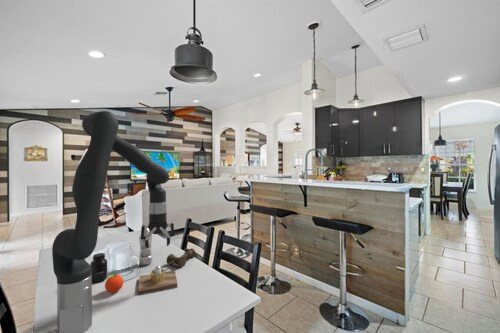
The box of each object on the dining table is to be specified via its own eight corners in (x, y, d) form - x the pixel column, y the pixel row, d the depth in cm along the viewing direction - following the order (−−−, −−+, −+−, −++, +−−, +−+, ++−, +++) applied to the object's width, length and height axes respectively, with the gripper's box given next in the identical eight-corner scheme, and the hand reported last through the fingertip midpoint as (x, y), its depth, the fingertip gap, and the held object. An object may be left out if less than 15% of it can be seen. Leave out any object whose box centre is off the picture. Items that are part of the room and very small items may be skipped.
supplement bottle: (98, 284, 106) (98, 258, 105) (86, 282, 107) (86, 257, 107) (110, 277, 112) (110, 252, 112) (98, 275, 114) (98, 251, 113)
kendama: (199, 258, 135) (174, 272, 117) (186, 256, 139) (160, 269, 121) (199, 248, 135) (174, 260, 117) (186, 246, 140) (160, 257, 122)
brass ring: (164, 281, 105) (164, 272, 105) (150, 284, 103) (150, 275, 103) (164, 275, 110) (164, 267, 110) (150, 278, 108) (150, 269, 108)
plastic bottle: (139, 262, 128) (139, 227, 128) (152, 260, 131) (152, 225, 130) (138, 267, 122) (138, 230, 122) (152, 265, 125) (151, 228, 124)
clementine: (98, 295, 97) (98, 278, 97) (110, 286, 104) (110, 270, 104) (115, 296, 96) (115, 279, 96) (127, 287, 103) (126, 271, 102)
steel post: (161, 280, 106) (161, 266, 106) (154, 282, 105) (154, 267, 105) (161, 277, 109) (161, 264, 108) (154, 278, 107) (154, 265, 107)
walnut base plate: (177, 287, 103) (177, 283, 103) (137, 294, 97) (137, 291, 97) (174, 273, 116) (174, 270, 116) (139, 279, 110) (139, 276, 110)
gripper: (140, 214, 100) (140, 251, 100) (174, 212, 105) (174, 247, 105) (141, 211, 107) (141, 246, 107) (173, 209, 112) (173, 242, 112)
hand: (157, 246), depth 106 cm, fingers open, 8 cm apart
